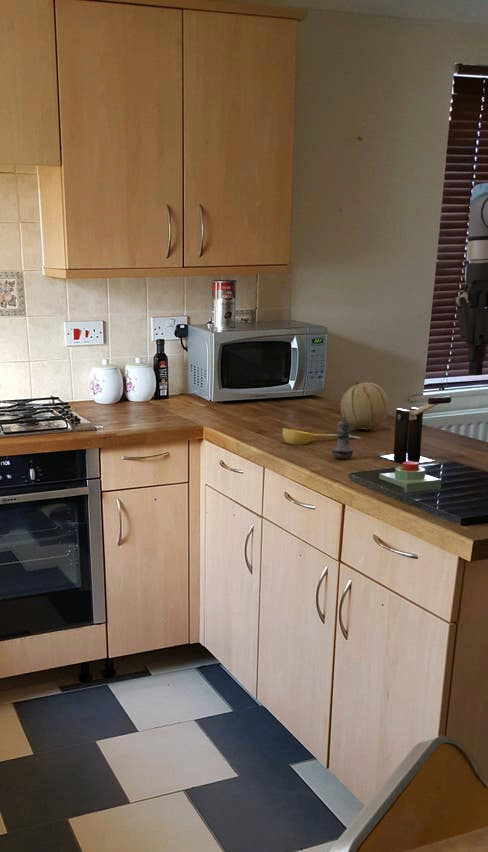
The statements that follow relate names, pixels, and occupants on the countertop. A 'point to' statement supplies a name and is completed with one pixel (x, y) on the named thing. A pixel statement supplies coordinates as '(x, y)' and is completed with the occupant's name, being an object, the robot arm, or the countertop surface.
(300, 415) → the countertop surface
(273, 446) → the countertop surface
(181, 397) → the countertop surface
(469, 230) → the robot arm
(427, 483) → the control block
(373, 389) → the cantaloupe
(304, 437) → the ladle
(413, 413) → the lever
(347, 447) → the grey chess piece
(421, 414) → the bracket
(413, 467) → the button
